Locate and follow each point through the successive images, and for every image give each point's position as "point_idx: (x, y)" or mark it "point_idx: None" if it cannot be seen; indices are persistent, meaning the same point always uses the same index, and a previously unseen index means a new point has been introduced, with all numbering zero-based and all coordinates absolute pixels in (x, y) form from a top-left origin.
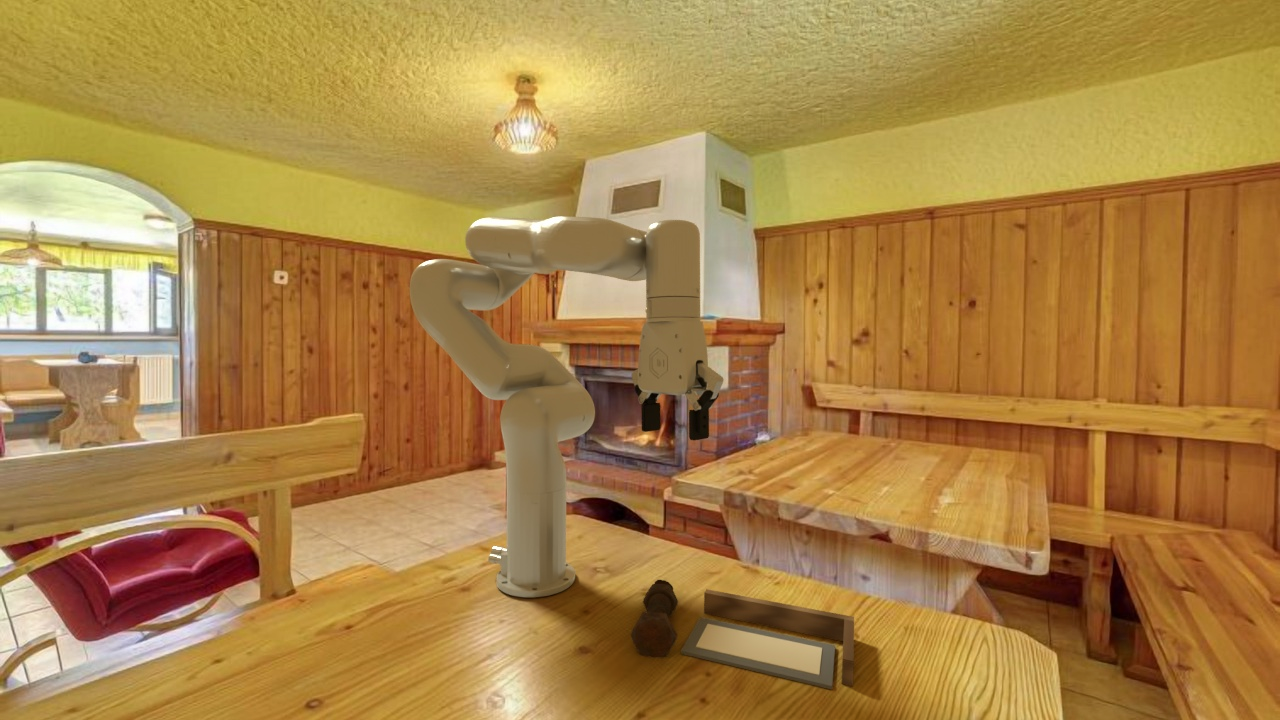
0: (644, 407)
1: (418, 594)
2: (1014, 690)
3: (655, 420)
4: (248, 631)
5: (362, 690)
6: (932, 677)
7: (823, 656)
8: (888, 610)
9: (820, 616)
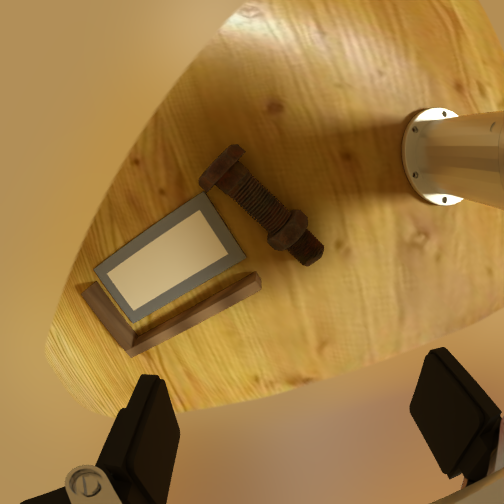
0: (480, 411)
1: (465, 51)
2: (58, 360)
3: (428, 415)
4: None
5: None
6: (80, 339)
7: (124, 300)
8: None
9: (147, 339)
